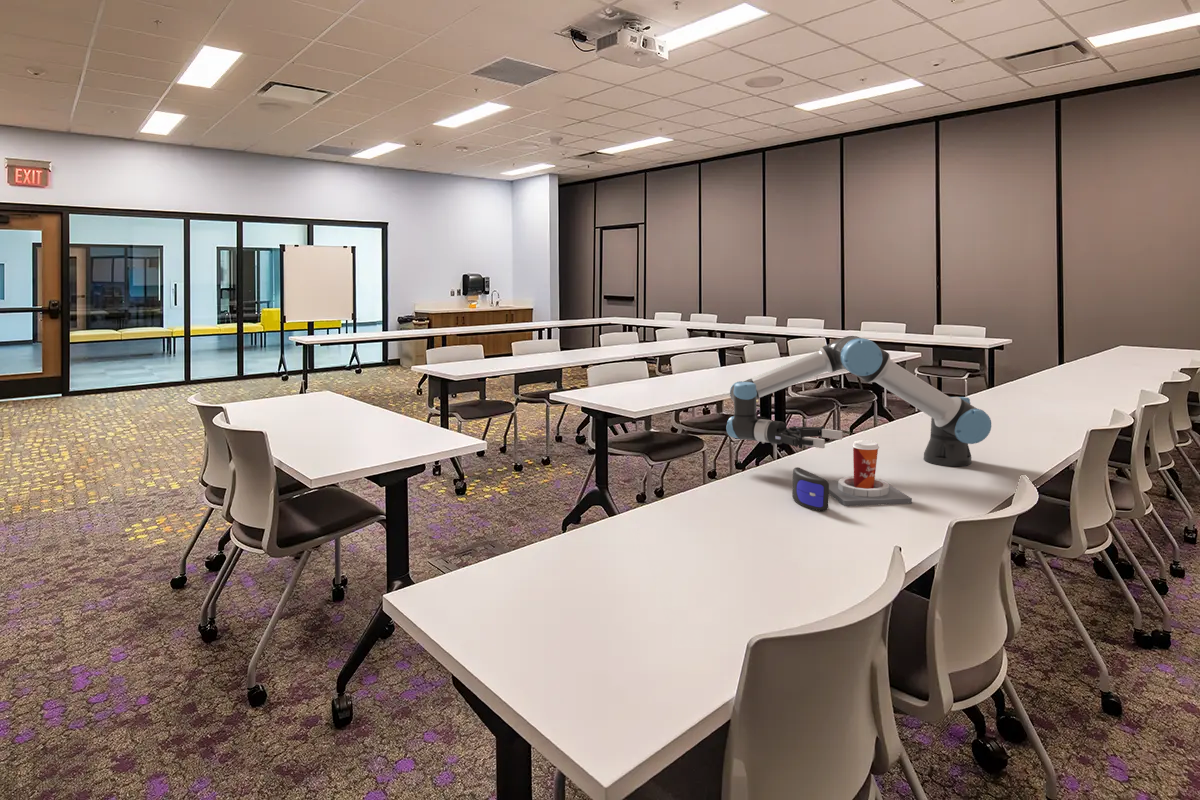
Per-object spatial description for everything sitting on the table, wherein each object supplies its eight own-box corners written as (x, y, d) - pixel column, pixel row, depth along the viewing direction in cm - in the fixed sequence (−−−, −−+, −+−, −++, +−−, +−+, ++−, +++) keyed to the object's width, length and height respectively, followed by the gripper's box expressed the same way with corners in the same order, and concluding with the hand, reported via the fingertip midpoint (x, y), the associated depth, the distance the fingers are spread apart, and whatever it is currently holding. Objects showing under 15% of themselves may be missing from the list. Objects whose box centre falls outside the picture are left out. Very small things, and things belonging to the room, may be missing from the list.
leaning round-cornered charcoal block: (783, 497, 209) (784, 467, 208) (797, 495, 211) (798, 465, 209) (815, 514, 194) (816, 481, 192) (829, 512, 195) (830, 480, 194)
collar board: (880, 483, 221) (880, 472, 220) (911, 503, 201) (912, 491, 201) (818, 485, 220) (818, 475, 219) (844, 506, 200) (844, 494, 200)
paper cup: (865, 492, 207) (867, 446, 205) (845, 486, 214) (846, 441, 212) (883, 488, 211) (885, 443, 209) (862, 482, 218) (864, 438, 215)
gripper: (788, 435, 240) (848, 443, 226) (752, 450, 222) (815, 459, 208) (788, 414, 239) (849, 420, 225) (752, 427, 221) (816, 435, 207)
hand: (833, 439), depth 217 cm, fingers open, 13 cm apart
